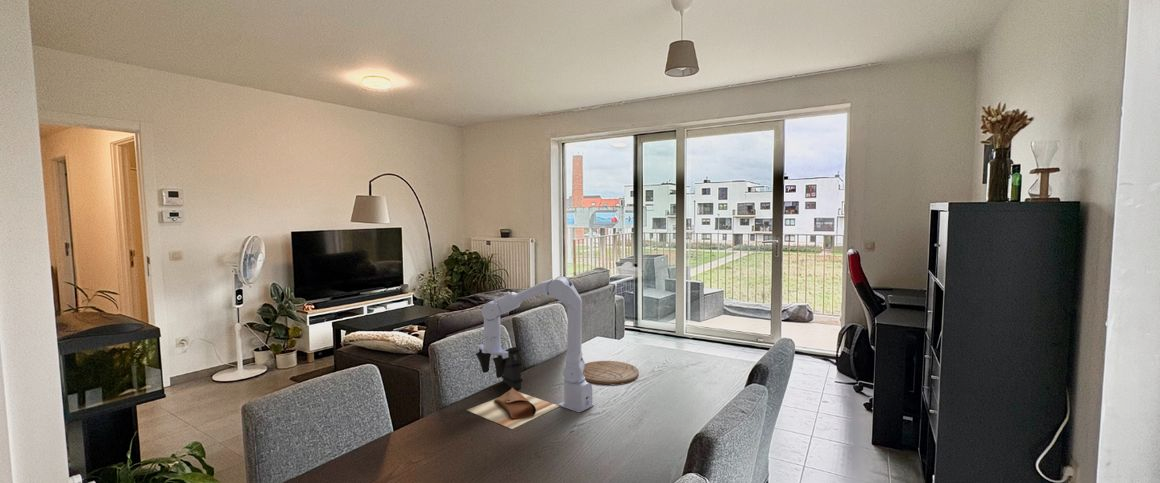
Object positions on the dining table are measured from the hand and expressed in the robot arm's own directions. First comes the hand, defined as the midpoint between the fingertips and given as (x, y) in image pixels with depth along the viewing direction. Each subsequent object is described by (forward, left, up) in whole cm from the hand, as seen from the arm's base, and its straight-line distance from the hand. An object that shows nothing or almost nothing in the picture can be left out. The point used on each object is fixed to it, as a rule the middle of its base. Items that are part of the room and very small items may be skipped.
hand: (492, 374), depth 166 cm
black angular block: (+7, -15, -10) cm, 19 cm away
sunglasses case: (-11, 0, -9) cm, 14 cm away
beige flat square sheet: (-11, 0, -9) cm, 14 cm away
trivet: (-15, -48, -10) cm, 51 cm away
